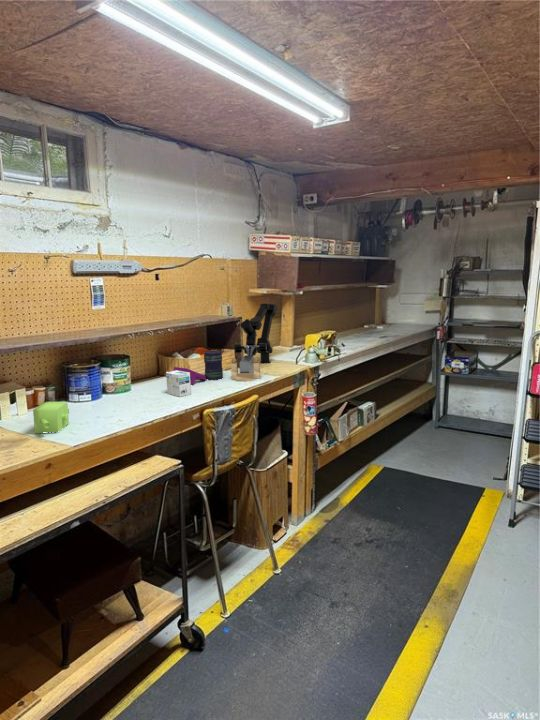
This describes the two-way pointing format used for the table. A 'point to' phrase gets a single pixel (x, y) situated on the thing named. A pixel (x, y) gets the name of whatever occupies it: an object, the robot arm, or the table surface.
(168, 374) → the light bulb box
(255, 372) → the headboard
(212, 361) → the storage jar
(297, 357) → the table surface
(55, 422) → the gearbox
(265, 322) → the robot arm
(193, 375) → the mounting bracket
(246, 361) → the silver rectangular block
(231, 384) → the table surface
